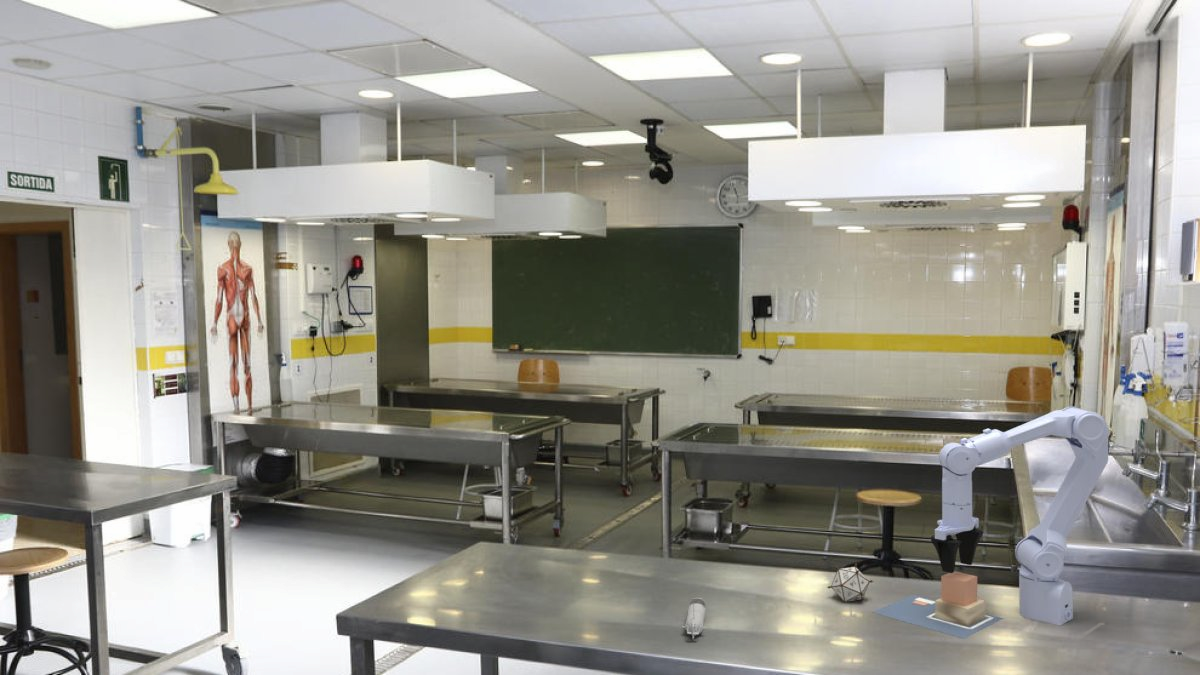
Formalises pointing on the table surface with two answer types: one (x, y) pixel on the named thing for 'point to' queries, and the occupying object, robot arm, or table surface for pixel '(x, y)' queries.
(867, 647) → the table surface
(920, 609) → the board
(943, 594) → the terracotta cube
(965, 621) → the beech block
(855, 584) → the game die
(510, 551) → the table surface
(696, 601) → the torpedo
